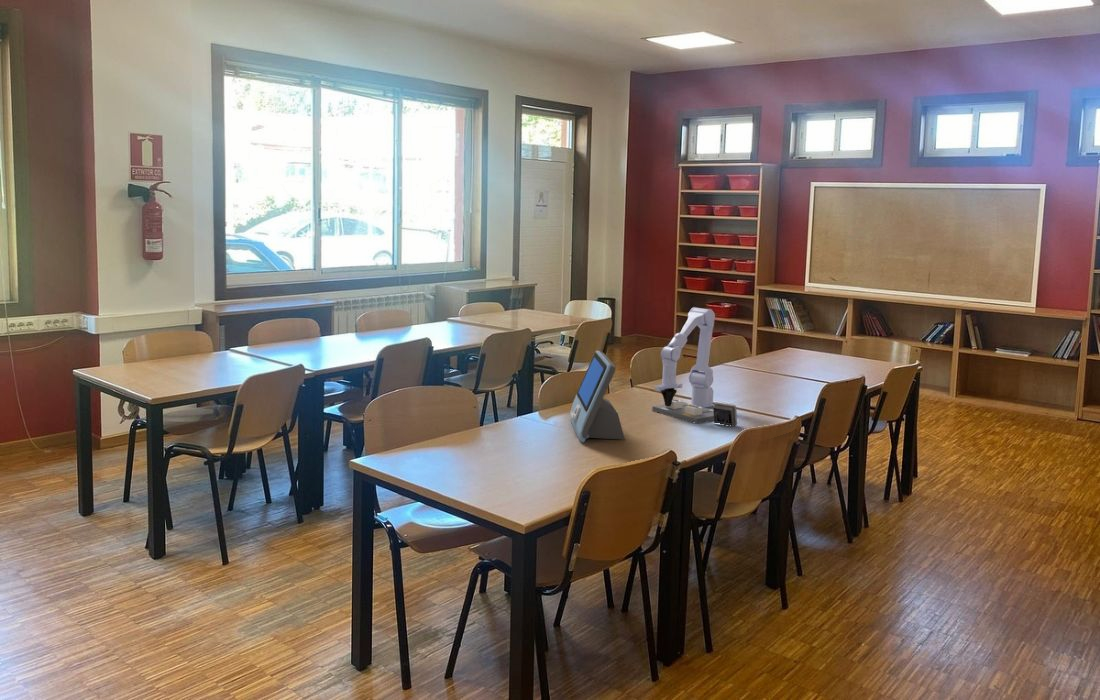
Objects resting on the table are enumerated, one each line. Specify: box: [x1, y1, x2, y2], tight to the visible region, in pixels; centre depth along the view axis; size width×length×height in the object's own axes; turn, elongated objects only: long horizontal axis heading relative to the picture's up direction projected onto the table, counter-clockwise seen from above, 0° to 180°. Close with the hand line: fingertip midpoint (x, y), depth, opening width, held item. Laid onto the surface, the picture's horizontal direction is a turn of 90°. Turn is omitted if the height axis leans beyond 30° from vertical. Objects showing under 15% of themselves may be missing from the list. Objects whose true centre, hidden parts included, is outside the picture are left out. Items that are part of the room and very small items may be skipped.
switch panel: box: [652, 401, 714, 424], centre depth 368 cm, size 18×26×2 cm
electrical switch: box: [712, 401, 738, 427], centre depth 350 cm, size 9×5×9 cm, turn 57°
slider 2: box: [685, 403, 702, 416], centre depth 360 cm, size 5×5×4 cm
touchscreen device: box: [569, 350, 626, 444], centre depth 333 cm, size 35×20×30 cm, turn 5°
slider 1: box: [666, 398, 683, 409], centre depth 371 cm, size 5×5×4 cm
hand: (667, 405), depth 369 cm, fingers closed
